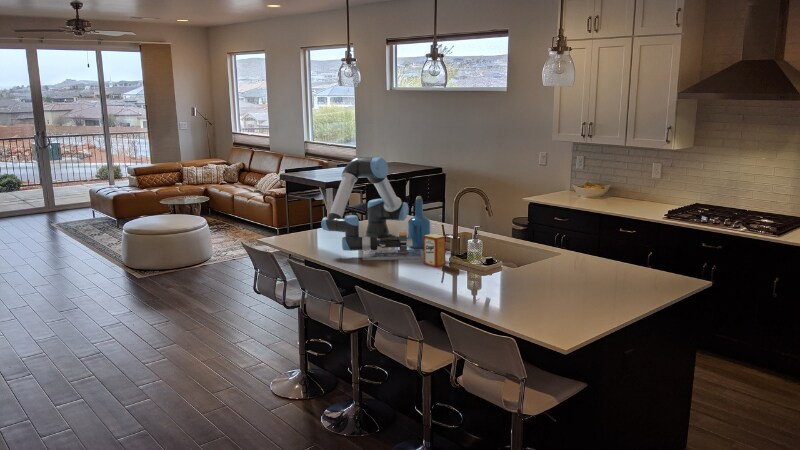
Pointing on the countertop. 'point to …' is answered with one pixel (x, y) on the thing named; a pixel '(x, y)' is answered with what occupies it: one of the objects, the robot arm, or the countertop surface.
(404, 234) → the breaker handle
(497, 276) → the countertop surface
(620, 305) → the countertop surface
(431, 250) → the baking soda box
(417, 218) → the wine bottle
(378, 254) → the panel
